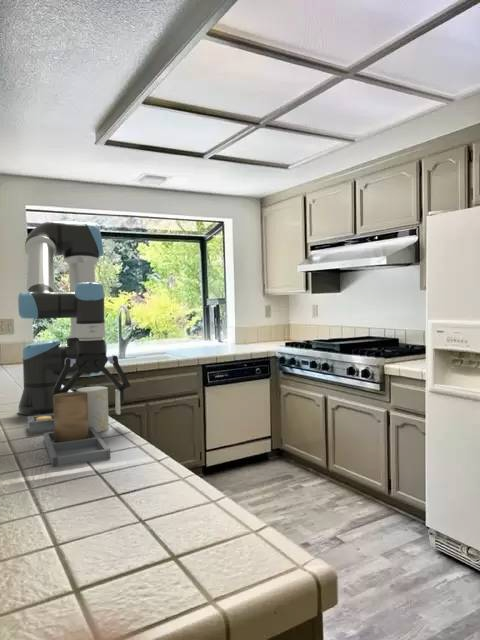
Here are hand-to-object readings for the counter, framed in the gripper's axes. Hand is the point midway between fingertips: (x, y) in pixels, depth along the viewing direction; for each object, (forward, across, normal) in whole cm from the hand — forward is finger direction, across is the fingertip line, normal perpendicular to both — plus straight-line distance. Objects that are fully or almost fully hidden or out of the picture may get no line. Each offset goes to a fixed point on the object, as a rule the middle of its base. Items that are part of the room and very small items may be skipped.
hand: (93, 416), depth 130 cm
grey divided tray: (+5, -7, -16) cm, 18 cm away
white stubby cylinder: (+5, 0, 0) cm, 5 cm away
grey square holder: (+4, -12, +7) cm, 15 cm away
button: (+3, -12, +7) cm, 14 cm away
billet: (+4, -7, -10) cm, 13 cm away
